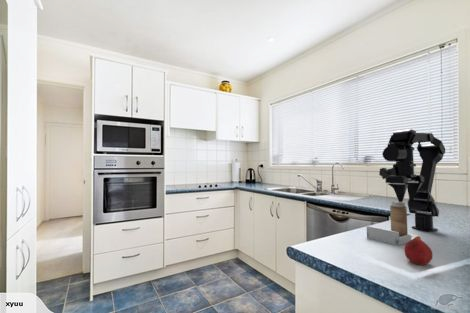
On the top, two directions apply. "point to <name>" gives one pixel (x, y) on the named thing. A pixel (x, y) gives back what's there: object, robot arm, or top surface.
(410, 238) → the lane rack
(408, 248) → the onion
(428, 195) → the robot arm
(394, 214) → the pepper mill
